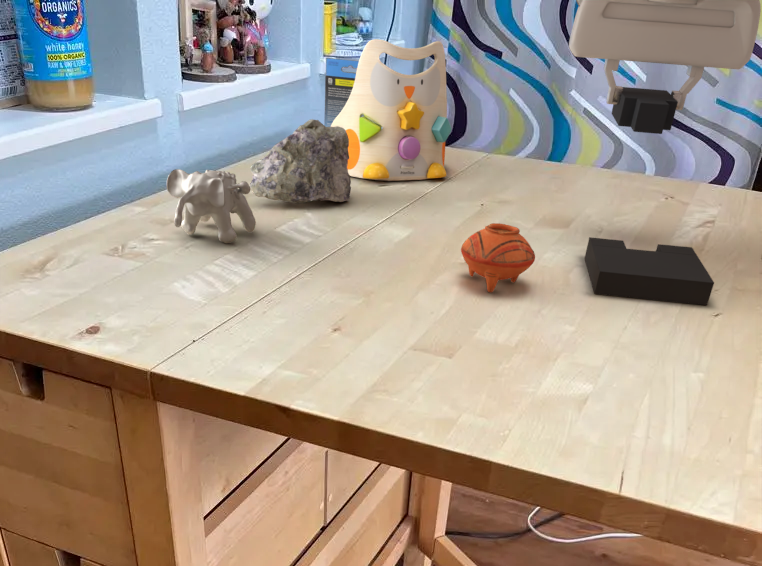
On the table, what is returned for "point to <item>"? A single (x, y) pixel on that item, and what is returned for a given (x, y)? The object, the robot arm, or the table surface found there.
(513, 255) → the pot
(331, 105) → the tape cartridge
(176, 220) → the gray elephant figurine
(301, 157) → the mineral rock
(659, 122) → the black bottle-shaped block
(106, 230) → the table surface
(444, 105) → the shape sorter
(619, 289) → the black notched square block
